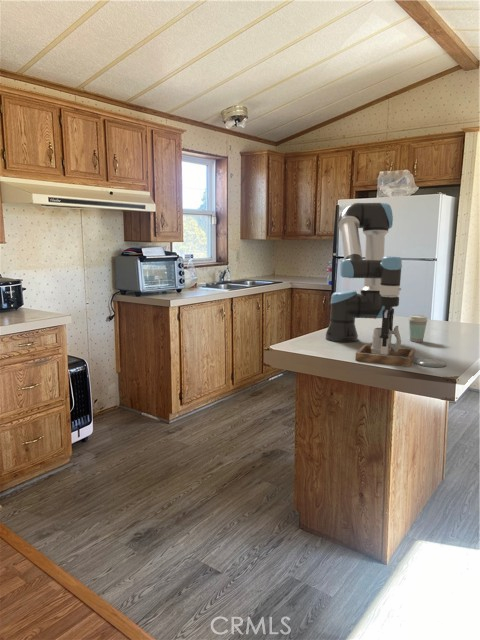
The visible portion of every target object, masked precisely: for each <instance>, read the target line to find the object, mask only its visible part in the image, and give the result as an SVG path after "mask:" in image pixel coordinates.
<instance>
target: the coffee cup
mask: <svg viewBox="0 0 480 640" xmlns="http://www.w3.org/2000/svg"><path fill="white" fill-rule="evenodd" d="M427 322H428V318H427V315H421V314H419V315H418V314H411V315H409V318H408V326H409V341H410V342H413V343H423V342H424V338H425V333H426V328H427Z"/></svg>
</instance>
